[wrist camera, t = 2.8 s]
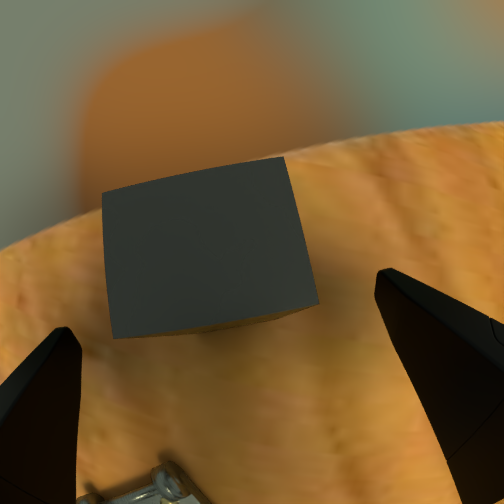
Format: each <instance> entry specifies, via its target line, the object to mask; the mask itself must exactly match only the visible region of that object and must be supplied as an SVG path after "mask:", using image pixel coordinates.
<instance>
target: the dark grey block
mask: <svg viewBox="0 0 504 504" xmlns="http://www.w3.org/2000/svg"><path fill="white" fill-rule="evenodd" d="M102 222H103V244H104V260H105V273H106V284H107V294H108V302H109V311H110V318H111V326H112V333H113V339H125V338H144V337H160V336H173V335H186V334H197V333H203V332H209V331H215V330H221V329H227V328H233V327H238V326H244V325H249V324H254V323H260V322H265V321H270V320H275V319H279V318H281V317H284V316H287V315H290V314H293V313H296V312H298V311H301V310H304V309H307V308H309V307H312V306H315V305H317V304H319V300H318V296H317V291H316V286H315V282H314V277H313V273H312V268H311V264H310V260H309V255H308V251H307V247H306V243H305V238H304V234H303V230H302V226H301V222H300V218H299V214H298V210H297V206H296V202H295V198H294V194H293V190H292V186H291V183H290V179H289V175H288V171H287V168H286V164H285V160H284V157H276V158H269V159H262V160H256V161H250V162H244V163H238V164H232V165H226V166H221V167H215V168H210V169H205V170H200V171H194V172H189V173H185V174H180V175H175V176H170V177H166V178H161V179H157V180H153V181H148V182H144V183H140V184H135V185H131V186H128V187H123V188H119V189H115V190H112V191H108V192H104V193H102Z"/></svg>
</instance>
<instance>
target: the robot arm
mask: <svg viewBox="0 0 504 504" xmlns="http://www.w3.org/2000/svg"><path fill="white" fill-rule="evenodd" d="M374 296H375V301H376V303H377V306H378V308H379V311H380V313H381V316H382V318H383V321H384V323H385V326H386V329H387V331H388V334H389V337H390V339H391V341H392V344H393V346H394V348H395V350H396V352H397V354H398V356H399V358H400V360H401V362H402V364H403V366H404V368H405V370H406V372H407V374H408V376H409V378H410V380H411V382H412V384H413V387H414V389H415V391H416V393H417V395H418V397H419V399H420V401H421V404H422V406H423V408H424V410H425V412H426V415H427V417H428V419H429V421H430V424H431V426H432V428H433V430H434V433H435V435H436V437H437V440H438V442H439V444H440V447H441V449H442V452H443V454H444V457H445V459H446V460H447V464H448V467H449V470H450V472H451V475H452V477H453V480H454V482H455V485H456V488H457V491H458V493H459V496H460V499H461V502H462V504H494V503H496V502H498V501H500V500H502V499H504V324H502V323H500V322H498V321H496V320H495V319H493V318H489V316H487V315H485V314H483V313H481V312H479V311H477V310H476V309H474V308H472V307H470V306H468V305H466V304H464V303H462V302H460V301H458V300H456V299H454V298H452V297H450V296H448V295H446V294H444V293H442V292H440V291H438V290H436V289H434V288H432V287H430V286H428V285H426V284H424V283H422V282H420V281H418V280H416V279H414V278H412V277H410V276H408V275H406V274H404V273H401V272H399V271H397V270H395V269H393V268H387V269H382V270H379V271H378V273H377V277H376V285H375V292H374ZM81 372H82V348H81V345H80V343H79V342H78V340H77V339H76V337H75V336H74V334H73V333H72V331H71V330H70V328H68V327H58V328H55V329H54V330H53V331H52V332H51V333H50V334H49V335H48V336H47V337H46V338H45V339H44V340H43V341H42V342H41V343H40V344H39V345H38V346H37V347H36V348H35V349H34V350H33V351H32V352H31V353H30V354H29V355H28V357H27V358H26V359H25V360H24V361H23V362H22V363H21V364H20V365H19V366H18V367H17V368H16V369H15V370H14V371H13V372H12V373H11V374H10V376H9V377H8V378H7V379H6V380H5V381H4V382H3V383H2V384H1V385H0V504H76V457H77V436H78V422H79V411H80V400H81Z"/></svg>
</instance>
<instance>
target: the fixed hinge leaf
mask: <svg viewBox="0 0 504 504" xmlns="http://www.w3.org/2000/svg"><path fill="white" fill-rule="evenodd" d="M151 479H152V482H153V483H151V484H148V485H146V486H143V487H141V488H138V489H136V490H133V491H130V492H128V493H125V494H122V495H120V496H117V497H114V498H111V499H108V500H104V499H103V498H102V497H101V496H100V495H98V494H95V493H89V494H86V495H83V496H80V497H78V498H77V500H76V504H211V503H210V501H209V500H208V499H207V498H206V497H205V496H204V495H203V494H202V493H201V491H200V490H199V489H198V488H197V487H196V486H195V485H194V483H193V482H192V481H191V480H190V479H189V478H188V476H187V475H186V474H185V473H184V472H183V470H182V469H181V468H180V467H179V466H178V465H176V464H175V463H173V462H171V461H168V462H165V463H163V464H161V465H159V466H157V467H154V468H153V469H152V470H151Z"/></svg>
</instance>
